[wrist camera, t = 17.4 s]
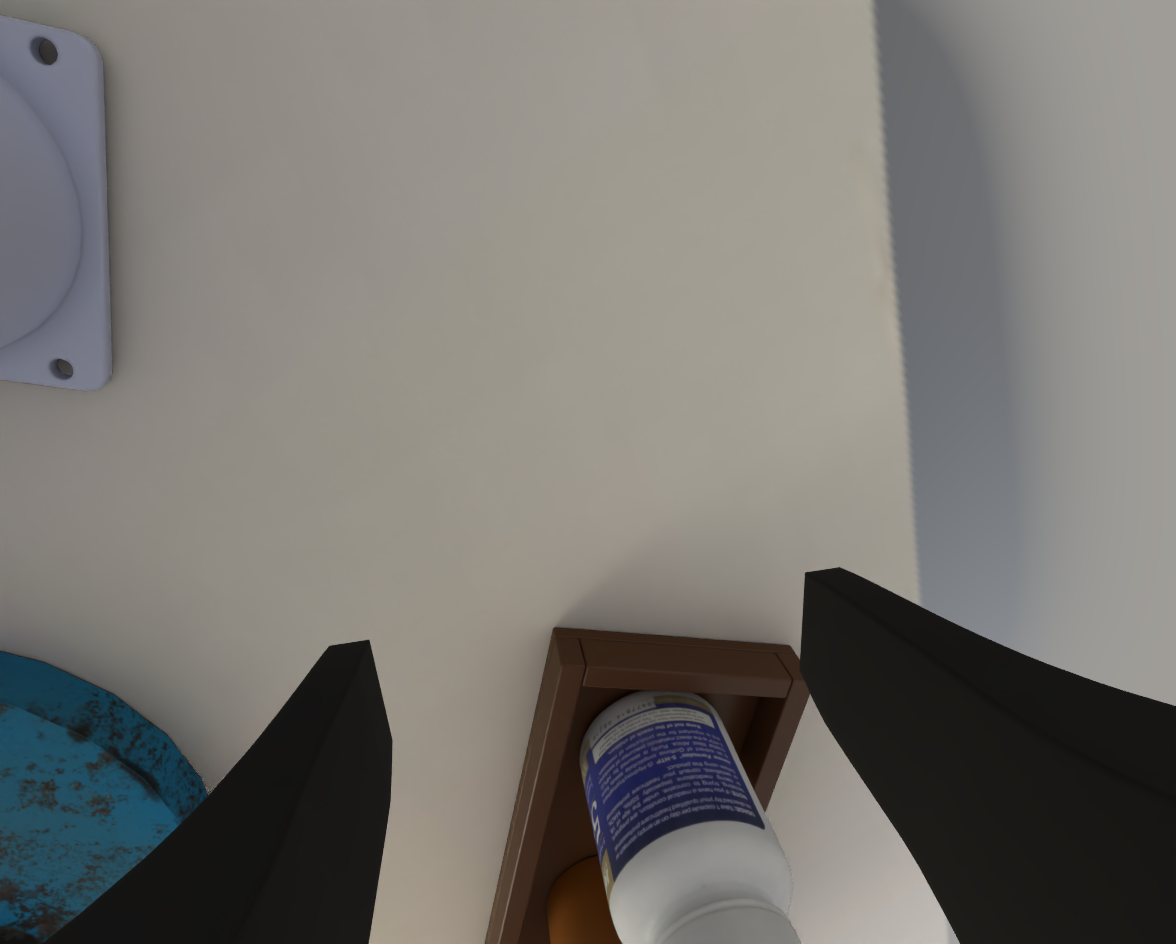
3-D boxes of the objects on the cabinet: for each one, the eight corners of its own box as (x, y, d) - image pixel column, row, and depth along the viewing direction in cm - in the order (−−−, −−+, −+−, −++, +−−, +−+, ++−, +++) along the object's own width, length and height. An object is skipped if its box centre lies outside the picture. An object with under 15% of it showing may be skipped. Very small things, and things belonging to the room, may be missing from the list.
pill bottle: (547, 742, 25) (590, 1015, 17) (671, 656, 25) (776, 897, 17) (632, 821, 27) (706, 1098, 19) (748, 744, 27) (874, 995, 19)
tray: (455, 1076, 32) (455, 1131, 31) (553, 626, 24) (561, 664, 22) (640, 1064, 34) (651, 1115, 32) (790, 644, 26) (815, 681, 24)
